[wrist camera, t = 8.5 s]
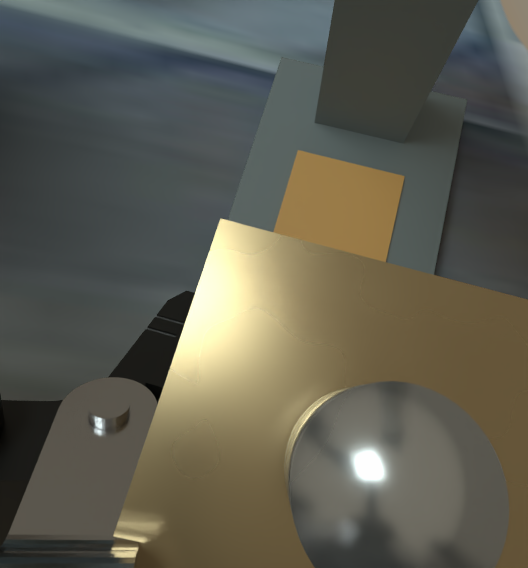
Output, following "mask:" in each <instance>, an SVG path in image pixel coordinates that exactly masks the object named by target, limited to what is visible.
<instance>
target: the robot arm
mask: <svg viewBox="0 0 528 568" xmlns="http://www.w3.org/2000/svg"><path fill="white" fill-rule="evenodd" d="M194 296H195V293H193V292H189V291H185V292H183V293H181V294H179V295H177V296H175V297H174V298H172V299H170V300H168V301H167V302H166V304H165V305H164V306H163V308H162V309H161V310H160V311H159V313H158V314H157V317H155V318H154V319H153V320H152V322H151V323H150V324H149V326H148V328H147V330H146V329H145V331H144V332H143V333H142V335H141V336H140V337H139V338H138V340H137V341H136V342H135V344H134V345H133V346H132V347H131V349H130V350H129V351H128V353H127V354H126V355H125V357H124V358H123V359H122V360H121V362H120V363H119V364H118V366H117V367H116V368H115V369H114V371H113V372H112V373H111V375H110V376H109V377H108V378H101V379H96V380H93V381H90V382H87V383H85V384H83V385H81V386H79V387H77V388H76V389H74V390H73V391H72V392H71V393H69V394H68V395H67V396H66V398H65V399H64V400H60V401H11V400H1V395H0V568H136V564H137V556H138V548H139V542H138V541H133V540H128V539H123V538H119V537H115V536H113V535H114V532H115V529H116V526H117V523H118V520H119V517H120V514H121V511H122V508H123V505H124V502H125V499H126V496H127V493H128V490H129V488H130V485H131V482H132V479H133V476H134V473H135V470H136V467H137V464H138V461H139V458H140V455H141V452H142V449H143V446H144V443H145V440H146V437H147V434H148V431H149V428H150V426H151V423H152V420H153V417H154V414H155V411H156V408H157V405H158V402H159V399H160V396H161V393H162V390H163V387H164V384H165V381H166V378H167V375H168V372H169V369H170V366H171V363H172V361H173V358H174V355H175V352H176V349H177V346H178V343H179V340H180V337H181V334H182V331H183V328H184V325H185V322H186V319H187V316H188V313H189V310H190V307H191V304H192V301H193V299H194Z"/></svg>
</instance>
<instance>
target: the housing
mask: <svg viewBox="0 0 528 568" xmlns="http://www.w3.org/2000/svg"><path fill="white" fill-rule="evenodd" d="M113 536H115V537H119V538H123V539H128V540H133V541H138V542H139V548H138V556H137V564H136V568H528V300H527V299H523V298H519V297H516V296H512V295H508V294H504V293H501V292H497V291H493V290H489V289H485V288H482V287H478V286H474V285H470V284H466V283H463V282H459V281H455V280H451V279H448V278H444V277H440V276H436V275H432V274H429V273H425V272H421V271H417V270H414V269H410V268H406V267H402V266H398V265H395V264H391V263H387V262H383V261H380V260H376V259H372V258H368V257H364V256H361V255H357V254H353V253H349V252H346V251H342V250H338V249H334V248H330V247H327V246H323V245H319V244H315V243H311V242H308V241H304V240H300V239H296V238H293V237H289V236H285V235H281V234H277V233H274V232H270V231H266V230H262V229H259V228H255V227H251V226H247V225H243V224H240V223H236V222H232V221H228V220H225V219H220V222H219V225H218V228H217V231H216V234H215V236H214V239H213V242H212V245H211V248H210V251H209V254H208V257H207V260H206V263H205V266H204V269H203V272H202V275H201V278H200V281H199V284H198V287H197V290H196V293H195V296H194V299H193V301H192V304H191V307H190V310H189V313H188V316H187V319H186V322H185V325H184V328H183V331H182V334H181V337H180V340H179V343H178V346H177V349H176V352H175V355H174V358H173V361H172V363H171V366H170V369H169V372H168V375H167V378H166V381H165V384H164V387H163V390H162V393H161V396H160V399H159V402H158V405H157V408H156V411H155V414H154V417H153V420H152V423H151V426H150V428H149V431H148V434H147V437H146V440H145V443H144V446H143V449H142V452H141V455H140V458H139V461H138V464H137V467H136V470H135V473H134V476H133V479H132V482H131V485H130V488H129V490H128V493H127V496H126V499H125V502H124V505H123V508H122V511H121V514H120V517H119V520H118V523H117V526H116V529H115V532H114V535H113Z"/></svg>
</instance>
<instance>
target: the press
mask: <svg viewBox="0 0 528 568" xmlns="http://www.w3.org/2000/svg"><path fill="white" fill-rule="evenodd" d="M477 2H478V0H335V2H334V8H333V14H332V20H331V26H330V32H329V38H328V44H327V50H326V56H325V62H324V67H322V66H318V65H314V64H309V63H305V62H300V61H296V60H292V59H287V58H283V57H282V58H281V61H280V64H279V67H278V70H277V73H276V76H275V79H274V82H273V85H272V88H271V91H270V94H269V97H268V100H267V103H266V106H265V109H264V112H263V115H262V118H261V121H260V124H259V127H258V130H257V133H256V136H255V139H254V142H253V145H252V148H251V151H250V154H249V157H248V160H247V163H246V166H245V169H244V172H243V175H242V178H241V181H240V184H239V187H238V190H237V193H236V196H235V199H234V202H233V205H232V208H231V211H230V214H229V217H228V221H232V222H236V223H240V224H243V225H247V226H251V227H255V228H259V229H262V230H266V231H270V232H274V233H277V234H281V235H285V236H289V237H293V238H296V239H300V240H304V241H308V242H311V243H315V244H319V245H323V246H327V247H330V248H334V249H338V250H342V251H346V252H349V253H353V254H357V255H361V256H364V257H368V258H372V259H376V260H380V261H383V262H387V263H391V264H395V265H398V266H402V267H406V268H410V269H414V270H417V271H421V272H425V273H429V274H432V275H434V271H435V266H436V261H437V256H438V250H439V245H440V240H441V235H442V229H443V224H444V219H445V214H446V208H447V203H448V198H449V192H450V187H451V182H452V177H453V171H454V166H455V161H456V156H457V150H458V145H459V140H460V135H461V129H462V124H463V119H464V114H465V108H466V103H467V99H462V98H458V97H454V96H449V95H445V94H441V93H436V92H432V91H431V90H432V88H433V86H434V84H435V82H436V80H437V78H438V76H439V74H440V72H441V71H442V69H443V67H444V65H445V63H446V61H447V59H448V57H449V55H450V53H451V51H452V50H453V48H454V46H455V44H456V42H457V40H458V38H459V36H460V34H461V32H462V30H463V29H464V27H465V25H466V23H467V21H468V19H469V17H470V15H471V13H472V11H473V9H474V8H475V6H476V4H477Z"/></svg>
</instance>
